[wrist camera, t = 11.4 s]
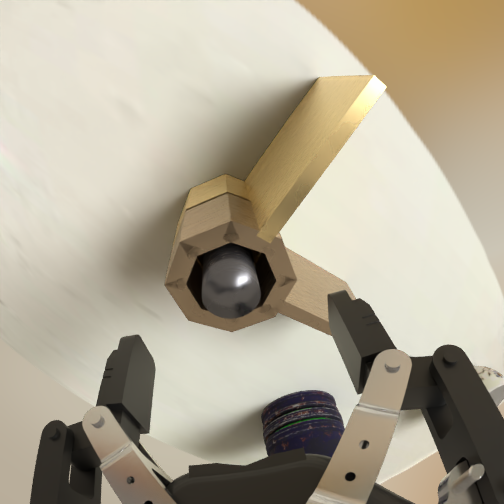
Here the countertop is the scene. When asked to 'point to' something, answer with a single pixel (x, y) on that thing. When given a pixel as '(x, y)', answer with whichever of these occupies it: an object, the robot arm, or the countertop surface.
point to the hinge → (271, 211)
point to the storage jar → (303, 423)
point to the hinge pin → (230, 281)
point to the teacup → (492, 382)
